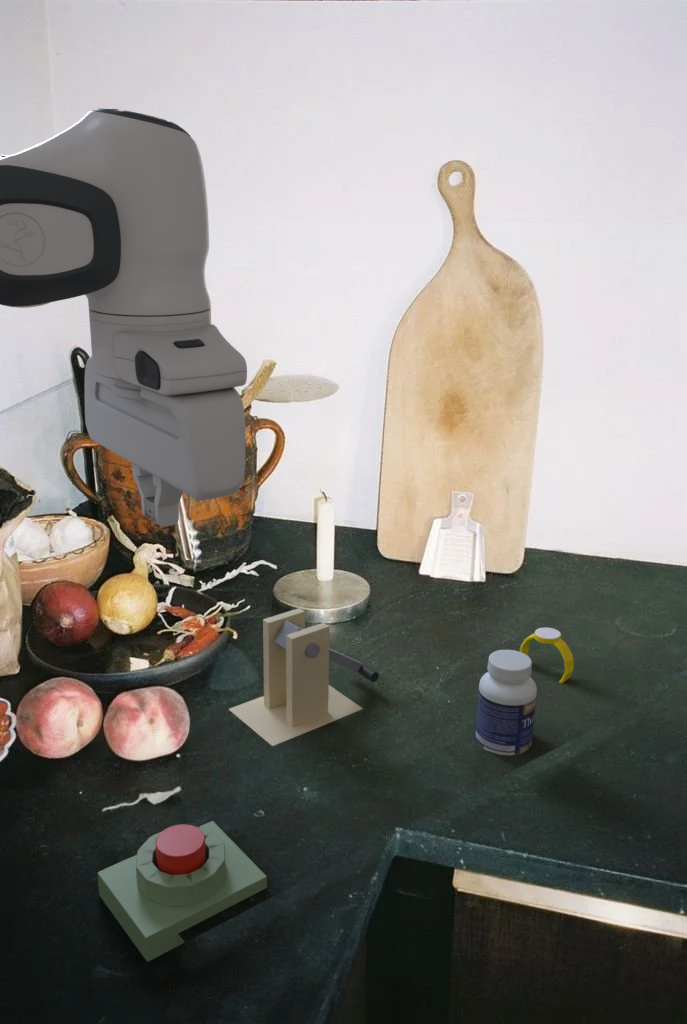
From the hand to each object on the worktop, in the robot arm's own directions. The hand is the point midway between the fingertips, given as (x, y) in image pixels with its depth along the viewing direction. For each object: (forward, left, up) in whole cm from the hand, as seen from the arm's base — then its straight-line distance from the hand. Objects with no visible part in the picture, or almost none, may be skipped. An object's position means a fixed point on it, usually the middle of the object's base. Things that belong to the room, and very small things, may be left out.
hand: (160, 520), depth 75 cm
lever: (+18, +3, -20) cm, 27 cm away
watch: (+41, -7, -26) cm, 49 cm away
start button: (-6, -12, -22) cm, 26 cm away
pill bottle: (+28, -13, -26) cm, 40 cm away
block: (-6, -12, -26) cm, 29 cm away
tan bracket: (+15, +3, -26) cm, 30 cm away
